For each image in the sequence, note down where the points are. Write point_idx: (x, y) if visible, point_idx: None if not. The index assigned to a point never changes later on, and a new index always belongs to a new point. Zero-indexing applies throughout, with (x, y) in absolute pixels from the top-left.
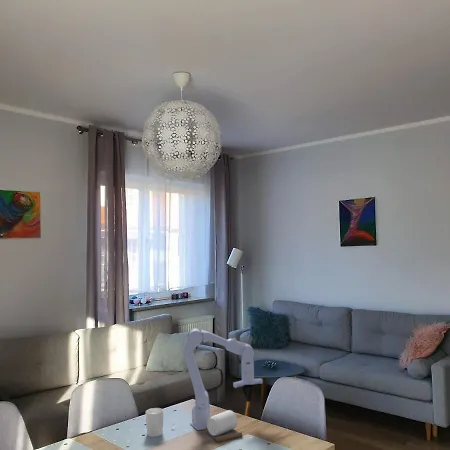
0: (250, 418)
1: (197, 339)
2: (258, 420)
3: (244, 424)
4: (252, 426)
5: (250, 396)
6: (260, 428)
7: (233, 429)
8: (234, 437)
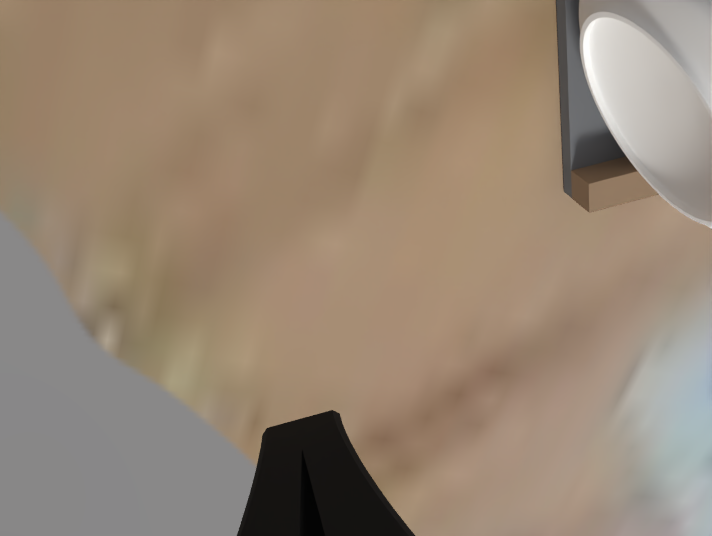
0: (206, 403)
1: None
2: (108, 325)
3: (340, 229)
4: (247, 128)
5: (288, 513)
6: (135, 7)
7: (575, 34)
8: None
